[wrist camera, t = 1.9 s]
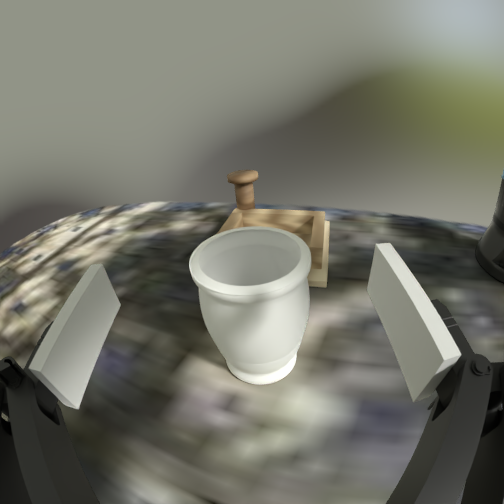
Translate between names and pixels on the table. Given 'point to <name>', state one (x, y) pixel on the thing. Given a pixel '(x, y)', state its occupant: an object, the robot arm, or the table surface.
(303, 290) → the jar
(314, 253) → the tan wooden platform
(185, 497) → the table surface
